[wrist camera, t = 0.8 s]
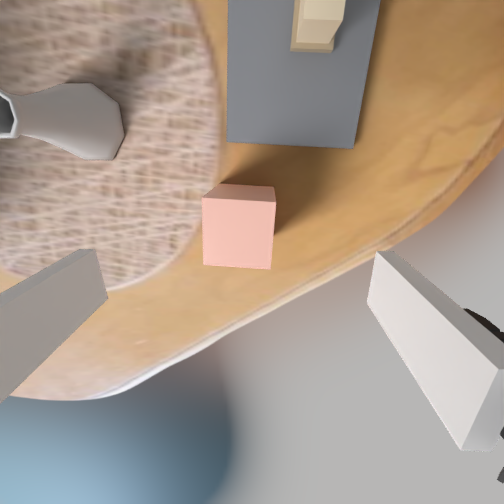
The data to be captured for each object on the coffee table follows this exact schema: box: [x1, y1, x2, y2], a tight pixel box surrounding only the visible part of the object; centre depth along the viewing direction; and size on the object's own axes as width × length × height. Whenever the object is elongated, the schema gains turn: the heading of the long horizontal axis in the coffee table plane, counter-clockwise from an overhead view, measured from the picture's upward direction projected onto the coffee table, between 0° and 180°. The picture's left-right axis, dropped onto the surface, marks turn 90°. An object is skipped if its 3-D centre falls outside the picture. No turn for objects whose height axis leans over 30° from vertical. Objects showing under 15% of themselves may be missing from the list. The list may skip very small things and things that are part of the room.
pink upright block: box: [202, 183, 276, 269], centre depth 25 cm, size 6×6×8 cm
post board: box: [227, 0, 381, 149], centre depth 19 cm, size 12×18×6 cm, turn 177°
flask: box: [0, 83, 124, 160], centre depth 21 cm, size 7×7×10 cm
